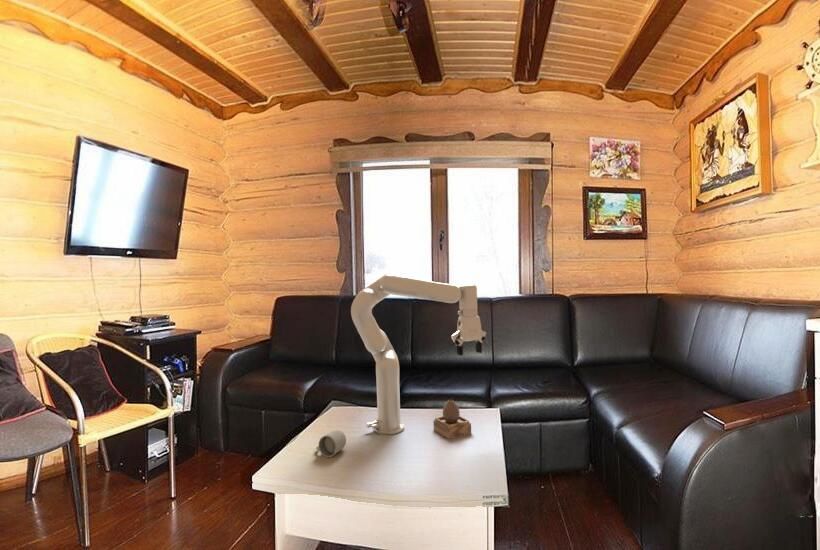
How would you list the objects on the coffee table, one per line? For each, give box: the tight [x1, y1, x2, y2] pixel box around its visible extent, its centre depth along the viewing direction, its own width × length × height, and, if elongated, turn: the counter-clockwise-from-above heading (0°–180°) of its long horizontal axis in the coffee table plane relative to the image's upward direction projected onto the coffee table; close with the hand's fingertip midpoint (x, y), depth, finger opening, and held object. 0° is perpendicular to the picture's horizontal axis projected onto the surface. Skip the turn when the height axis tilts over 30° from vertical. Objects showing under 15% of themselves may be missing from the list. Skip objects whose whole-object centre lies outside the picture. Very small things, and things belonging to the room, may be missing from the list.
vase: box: [442, 399, 461, 424], centre depth 166 cm, size 7×7×9 cm
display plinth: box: [433, 415, 472, 440], centre depth 166 cm, size 11×11×5 cm
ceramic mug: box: [315, 429, 347, 458], centre depth 150 cm, size 11×8×8 cm
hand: (469, 353), depth 173 cm, fingers open, 9 cm apart
